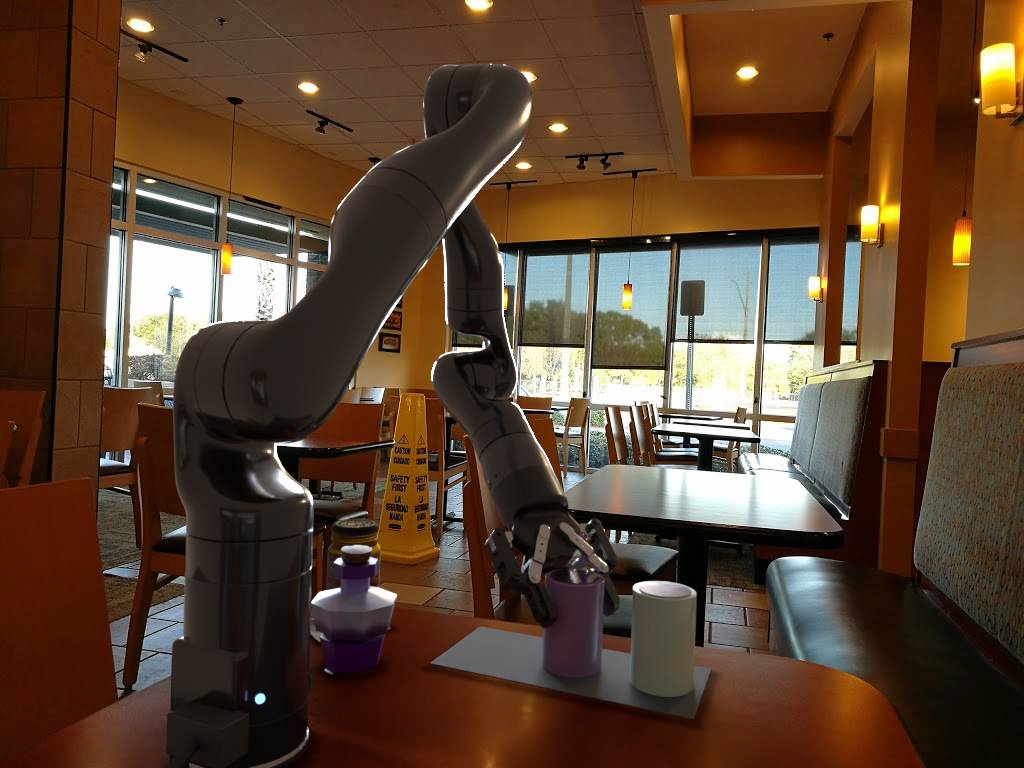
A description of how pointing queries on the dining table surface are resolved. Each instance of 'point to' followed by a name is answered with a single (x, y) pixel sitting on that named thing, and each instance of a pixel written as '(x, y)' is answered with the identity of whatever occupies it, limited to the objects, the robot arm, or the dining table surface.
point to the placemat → (523, 664)
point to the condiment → (350, 535)
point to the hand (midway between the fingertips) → (582, 617)
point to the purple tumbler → (574, 623)
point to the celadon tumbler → (663, 638)
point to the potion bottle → (353, 613)
